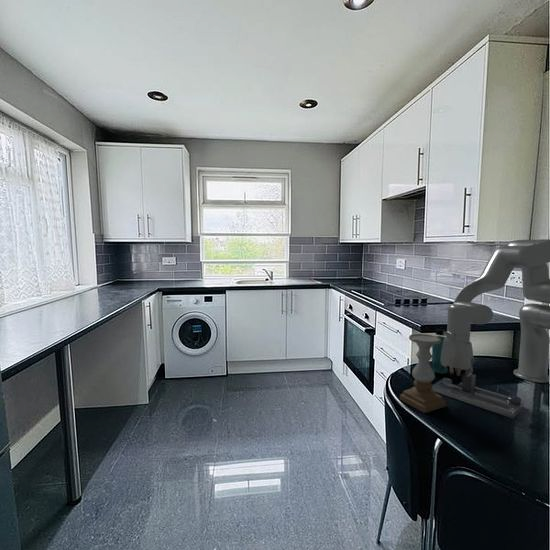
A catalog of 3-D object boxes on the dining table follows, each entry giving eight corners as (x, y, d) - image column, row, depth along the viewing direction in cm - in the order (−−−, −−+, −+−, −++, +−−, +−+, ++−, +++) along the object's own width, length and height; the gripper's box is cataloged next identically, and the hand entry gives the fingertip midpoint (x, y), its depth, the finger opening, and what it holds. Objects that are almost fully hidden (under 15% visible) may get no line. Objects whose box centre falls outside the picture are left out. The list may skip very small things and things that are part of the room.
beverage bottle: (443, 371, 140) (445, 327, 138) (450, 377, 133) (452, 331, 131) (428, 370, 140) (430, 327, 139) (434, 376, 134) (436, 331, 132)
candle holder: (424, 413, 104) (427, 344, 102) (399, 399, 114) (401, 335, 112) (446, 406, 109) (449, 339, 107) (420, 393, 119) (422, 332, 117)
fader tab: (465, 387, 119) (466, 372, 118) (474, 390, 116) (475, 374, 116) (461, 390, 116) (462, 374, 116) (470, 393, 114) (471, 377, 113)
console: (444, 382, 129) (444, 373, 128) (523, 406, 109) (523, 397, 108) (431, 390, 121) (431, 382, 121) (513, 418, 101) (514, 408, 101)
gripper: (433, 334, 121) (431, 380, 123) (476, 343, 110) (474, 393, 111) (441, 331, 126) (439, 375, 128) (484, 339, 115) (481, 387, 116)
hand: (455, 383), depth 120 cm, fingers closed
